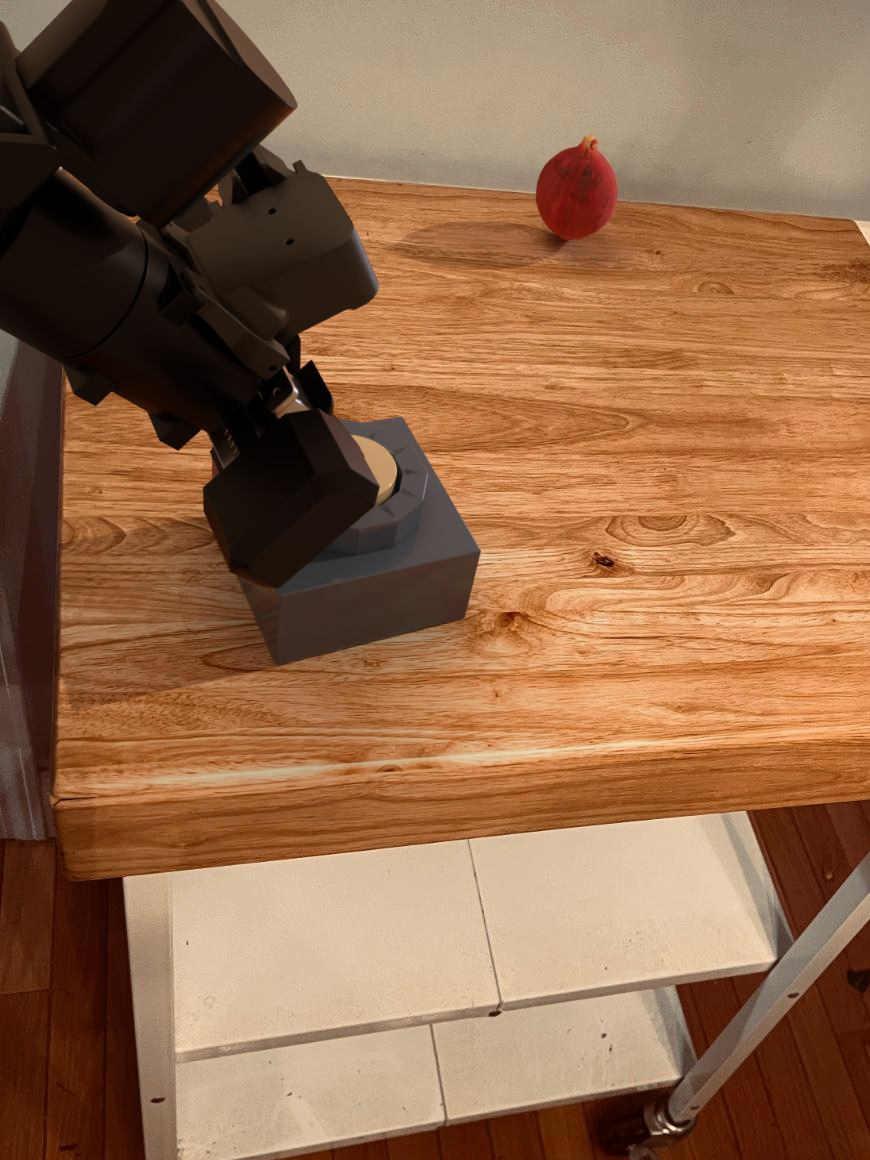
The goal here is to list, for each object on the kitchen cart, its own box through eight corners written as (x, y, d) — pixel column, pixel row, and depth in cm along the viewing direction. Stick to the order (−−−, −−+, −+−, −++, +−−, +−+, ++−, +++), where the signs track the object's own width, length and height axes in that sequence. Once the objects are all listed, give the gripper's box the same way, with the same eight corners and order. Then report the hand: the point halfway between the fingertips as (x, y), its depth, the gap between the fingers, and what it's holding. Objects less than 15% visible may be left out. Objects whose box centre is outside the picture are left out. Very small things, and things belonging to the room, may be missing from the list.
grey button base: (275, 666, 57) (281, 569, 51) (211, 520, 62) (211, 417, 56) (465, 618, 61) (488, 524, 56) (391, 486, 66) (406, 389, 61)
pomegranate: (602, 270, 86) (631, 169, 80) (524, 252, 85) (547, 148, 79) (604, 227, 89) (631, 127, 84) (529, 209, 88) (551, 107, 83)
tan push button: (318, 537, 55) (321, 506, 54) (286, 473, 58) (288, 441, 56) (406, 519, 57) (411, 489, 56) (372, 458, 60) (376, 427, 58)
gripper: (345, 296, 37) (576, 486, 50) (170, 4, 46) (404, 230, 59) (96, 522, 39) (382, 647, 52) (-23, 199, 48) (245, 375, 61)
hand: (355, 459), depth 56 cm, fingers closed, pressing on tan push button
